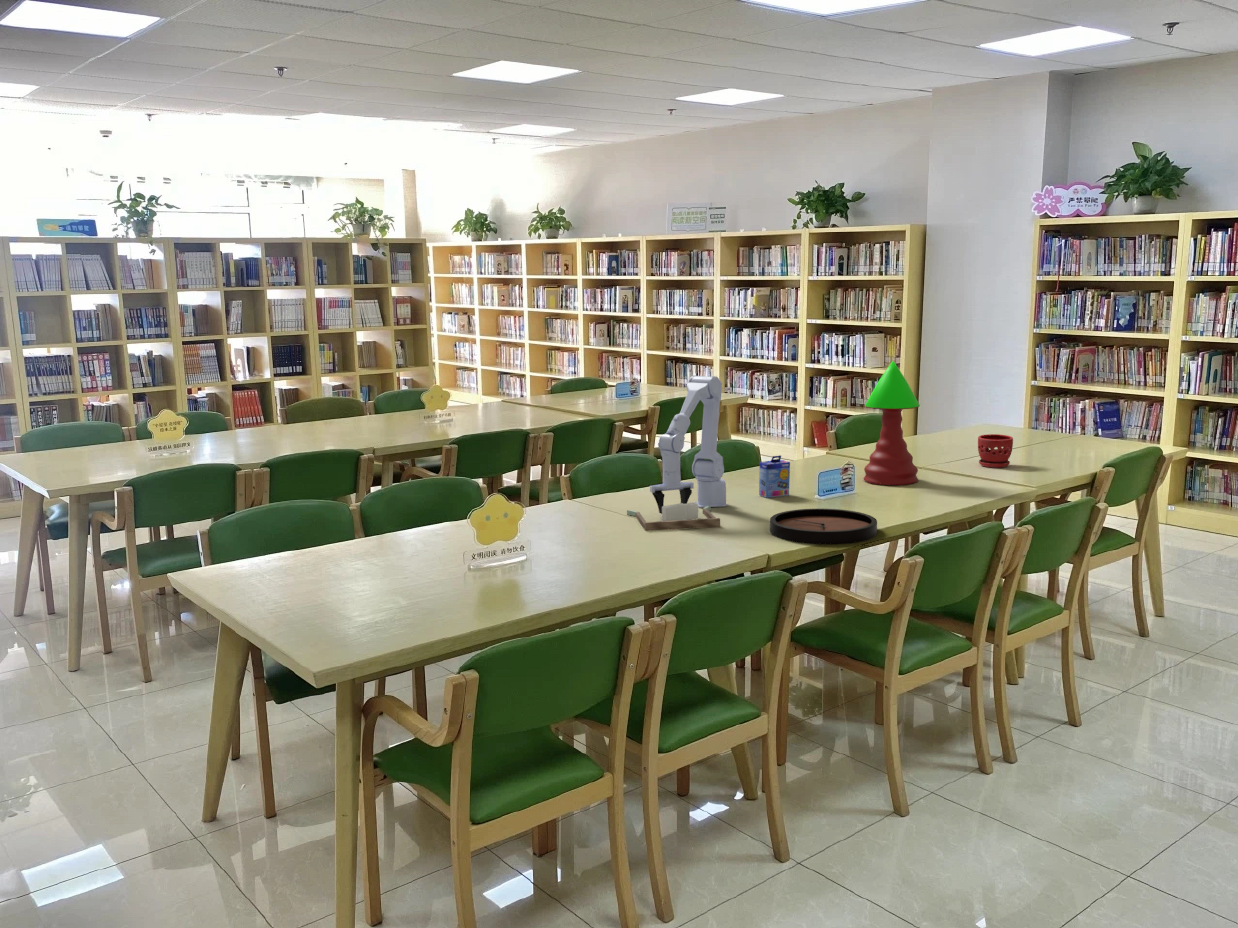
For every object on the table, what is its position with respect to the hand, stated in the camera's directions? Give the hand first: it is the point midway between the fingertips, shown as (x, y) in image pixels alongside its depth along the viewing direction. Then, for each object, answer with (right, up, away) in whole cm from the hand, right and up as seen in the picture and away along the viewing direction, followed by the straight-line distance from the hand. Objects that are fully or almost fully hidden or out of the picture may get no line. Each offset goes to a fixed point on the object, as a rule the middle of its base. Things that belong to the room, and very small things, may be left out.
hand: (672, 512), depth 327 cm
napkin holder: (+3, -3, -5) cm, 7 cm away
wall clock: (+44, -5, -26) cm, 51 cm away
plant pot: (+132, +15, +74) cm, 152 cm away
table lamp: (+84, +9, +49) cm, 98 cm away
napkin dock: (+1, -2, -5) cm, 6 cm away
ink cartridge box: (+38, +4, +28) cm, 47 cm away
